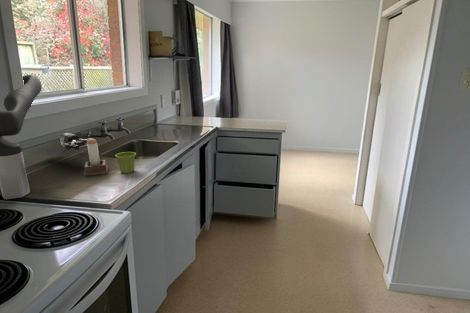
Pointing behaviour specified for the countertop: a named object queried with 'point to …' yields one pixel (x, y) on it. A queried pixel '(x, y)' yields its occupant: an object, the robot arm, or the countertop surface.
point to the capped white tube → (93, 152)
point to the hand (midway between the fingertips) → (86, 146)
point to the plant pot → (126, 161)
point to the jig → (95, 168)
